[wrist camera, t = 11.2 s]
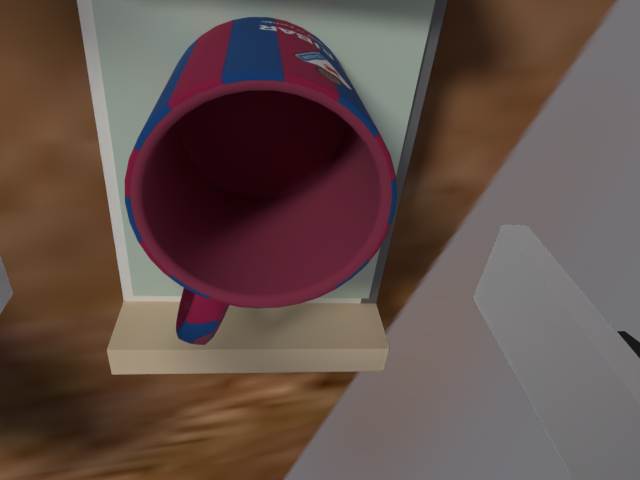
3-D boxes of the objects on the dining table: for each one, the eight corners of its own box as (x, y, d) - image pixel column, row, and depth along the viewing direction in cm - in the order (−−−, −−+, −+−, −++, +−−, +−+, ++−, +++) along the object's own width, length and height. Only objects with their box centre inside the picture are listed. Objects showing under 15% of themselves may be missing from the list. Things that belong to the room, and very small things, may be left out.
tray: (60, -339, 13) (-60, -495, 8) (472, -255, 15) (581, -339, 10) (140, 284, 25) (111, 374, 20) (360, 287, 27) (383, 371, 22)
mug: (388, 85, 17) (451, 167, 12) (253, 274, 22) (252, 400, 16) (222, -30, 15) (201, 5, 9) (106, 210, 19) (42, 335, 13)
